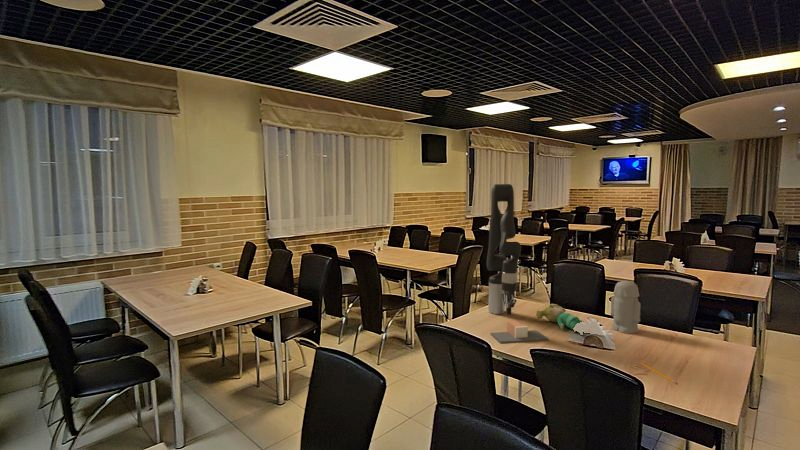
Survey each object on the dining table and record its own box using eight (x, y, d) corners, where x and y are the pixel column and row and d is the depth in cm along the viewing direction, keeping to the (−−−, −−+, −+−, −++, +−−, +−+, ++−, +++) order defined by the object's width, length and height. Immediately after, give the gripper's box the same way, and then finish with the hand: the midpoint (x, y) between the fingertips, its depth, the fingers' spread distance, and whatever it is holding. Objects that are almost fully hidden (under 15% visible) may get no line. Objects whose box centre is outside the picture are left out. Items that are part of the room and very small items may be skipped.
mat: (490, 334, 208) (490, 332, 208) (536, 331, 211) (536, 330, 211) (499, 343, 196) (499, 341, 196) (548, 340, 200) (548, 338, 200)
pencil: (675, 384, 155) (675, 383, 155) (638, 363, 174) (638, 361, 174) (677, 384, 156) (677, 382, 156) (640, 363, 174) (640, 361, 174)
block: (507, 320, 210) (515, 327, 200) (518, 320, 211) (527, 326, 201) (506, 330, 210) (515, 337, 201) (518, 330, 211) (527, 337, 202)
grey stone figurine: (604, 327, 218) (606, 279, 215) (615, 324, 223) (617, 277, 221) (633, 336, 206) (636, 285, 203) (644, 331, 211) (647, 282, 209)
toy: (577, 326, 202) (533, 300, 228) (574, 344, 205) (530, 318, 231) (602, 321, 209) (556, 297, 236) (598, 339, 212) (553, 313, 238)
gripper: (497, 278, 220) (496, 311, 222) (507, 284, 207) (506, 319, 209) (511, 277, 221) (510, 310, 223) (522, 283, 208) (521, 318, 210)
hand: (508, 314), depth 216 cm, fingers closed
